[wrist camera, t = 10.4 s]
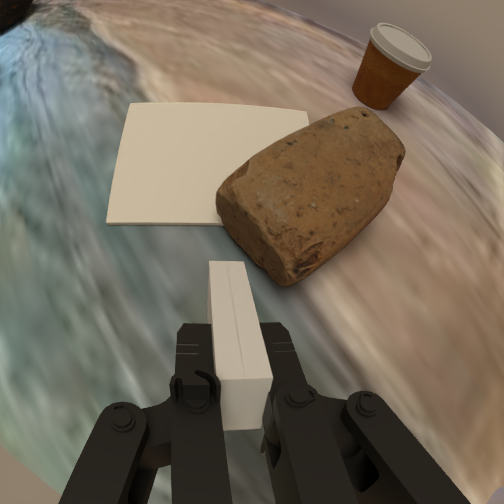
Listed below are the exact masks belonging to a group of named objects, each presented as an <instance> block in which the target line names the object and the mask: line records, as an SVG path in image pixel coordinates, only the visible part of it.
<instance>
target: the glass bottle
mask: <svg viewBox="0 0 504 504" xmlns="http://www.w3.org/2000/svg"><path fill="white" fill-rule="evenodd" d="M32 1H33V0H0V31H2V30H4V29H6V28H8V27H9V26H11V25H12V24H14V23H15V22H16V21H18V20H19V19H20V18H21V17H22V16H23V15H24V14H25V13H26V12H27V10H28V9H29V7H30V5H31V3H32Z"/></svg>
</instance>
